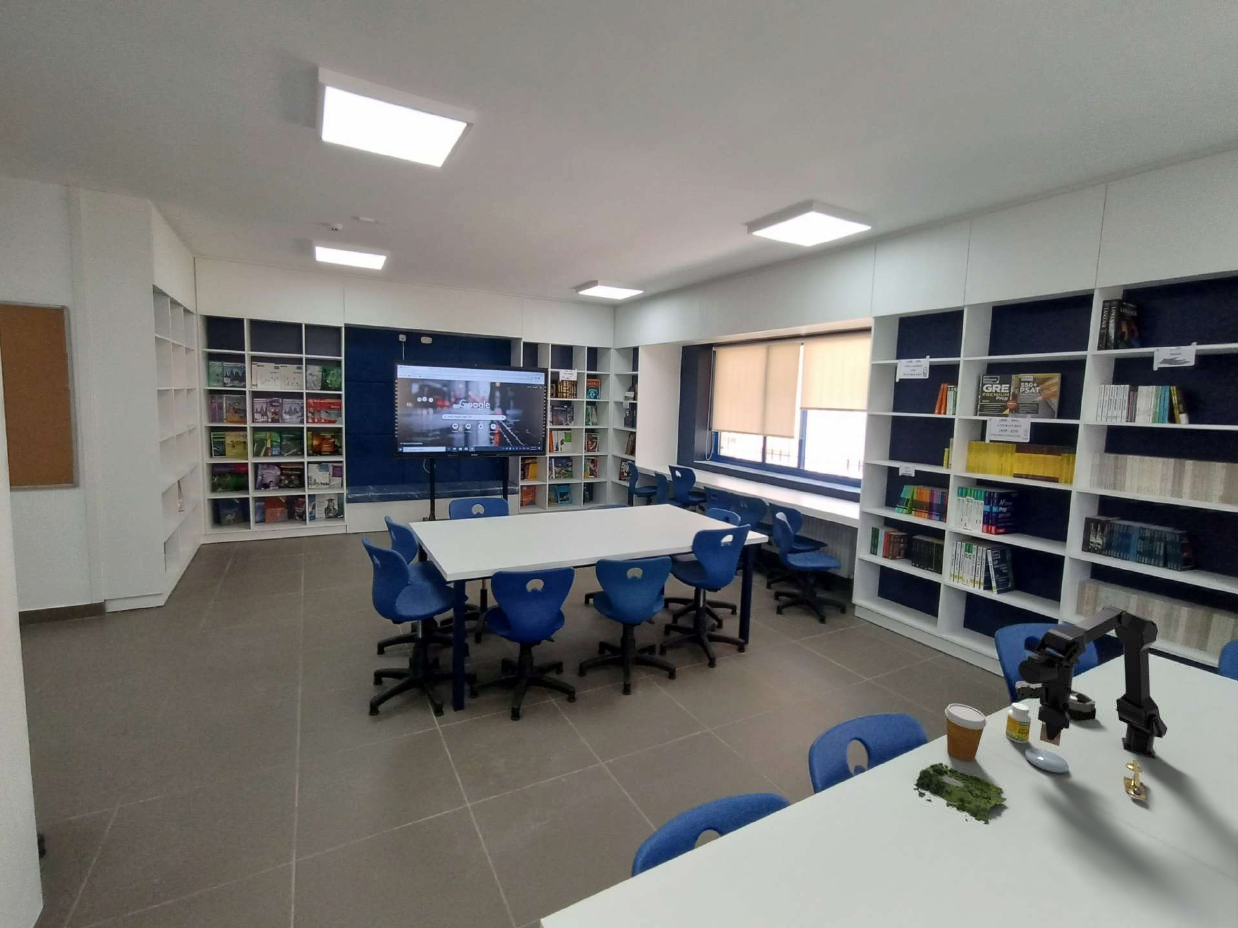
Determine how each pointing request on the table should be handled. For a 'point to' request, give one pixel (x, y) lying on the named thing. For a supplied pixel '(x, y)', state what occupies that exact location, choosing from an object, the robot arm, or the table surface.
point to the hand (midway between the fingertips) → (1050, 735)
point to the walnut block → (1044, 736)
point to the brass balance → (1134, 782)
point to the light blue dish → (1046, 760)
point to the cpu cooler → (1081, 707)
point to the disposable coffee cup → (964, 731)
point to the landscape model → (959, 790)
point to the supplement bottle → (1018, 723)
